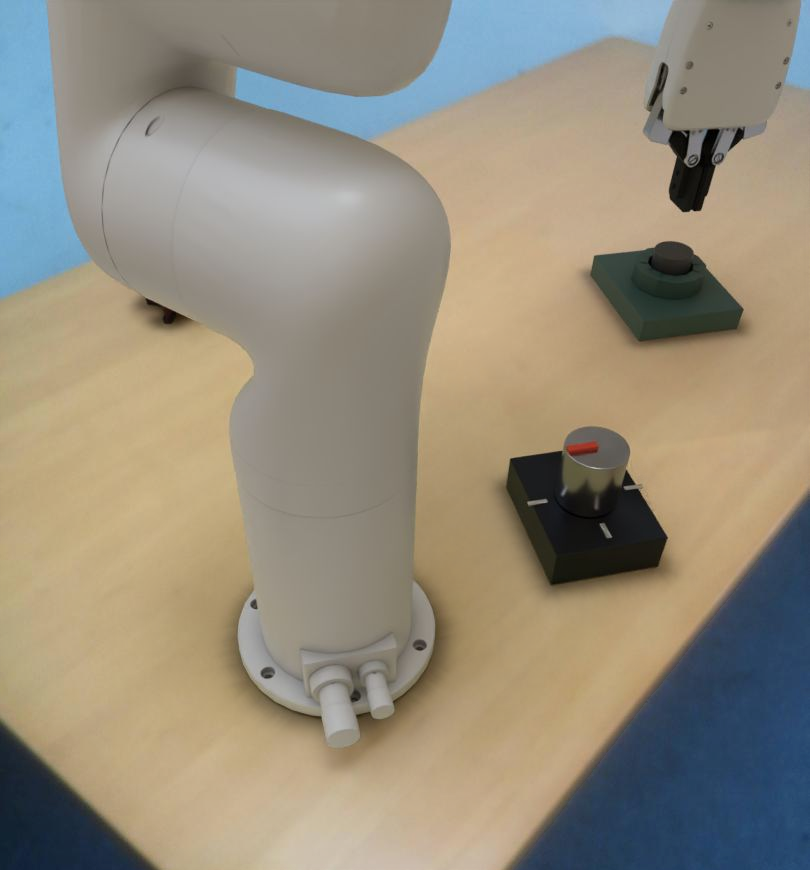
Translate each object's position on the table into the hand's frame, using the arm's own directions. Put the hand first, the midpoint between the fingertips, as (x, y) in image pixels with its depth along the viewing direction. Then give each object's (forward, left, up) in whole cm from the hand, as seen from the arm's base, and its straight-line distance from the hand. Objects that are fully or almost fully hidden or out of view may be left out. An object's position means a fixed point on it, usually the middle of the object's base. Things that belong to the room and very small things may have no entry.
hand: (684, 204), depth 77 cm
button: (0, 0, -6) cm, 6 cm away
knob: (-27, +19, -7) cm, 33 cm away
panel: (-27, +19, -10) cm, 34 cm away
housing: (0, 0, -10) cm, 10 cm away
